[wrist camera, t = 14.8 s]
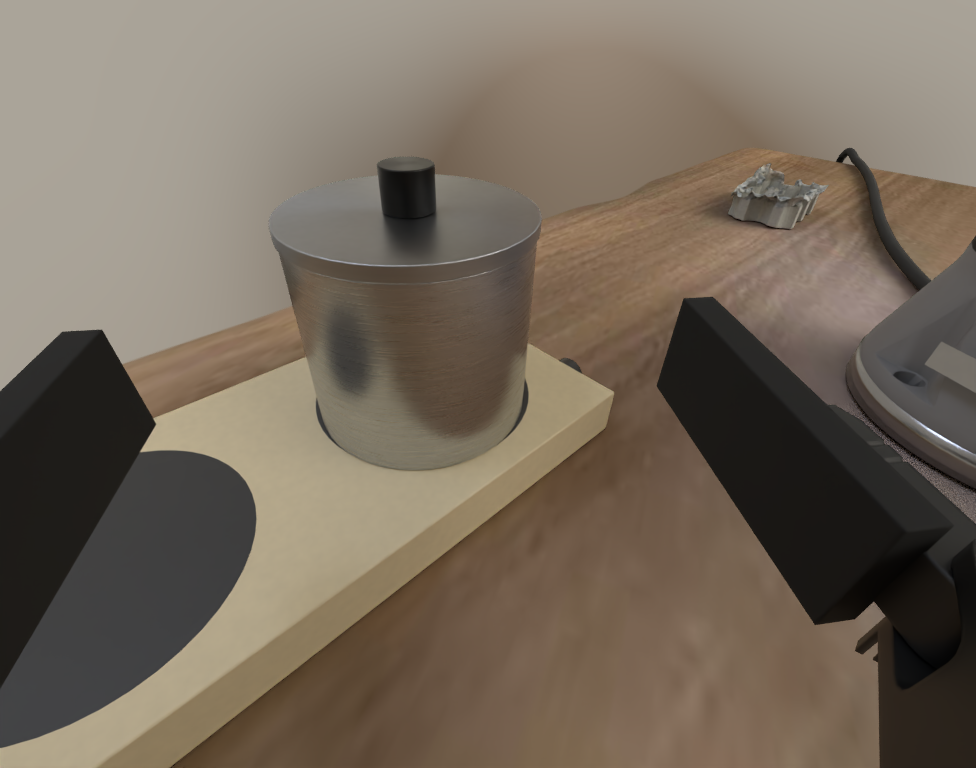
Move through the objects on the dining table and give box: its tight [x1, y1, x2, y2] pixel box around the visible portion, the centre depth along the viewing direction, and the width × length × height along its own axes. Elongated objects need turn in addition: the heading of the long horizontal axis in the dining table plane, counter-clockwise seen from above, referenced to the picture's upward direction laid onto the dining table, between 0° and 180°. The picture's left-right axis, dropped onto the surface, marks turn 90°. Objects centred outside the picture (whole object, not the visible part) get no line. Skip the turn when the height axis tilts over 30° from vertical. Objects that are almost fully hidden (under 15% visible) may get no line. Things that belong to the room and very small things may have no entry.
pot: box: [269, 157, 542, 470], centre depth 20 cm, size 10×10×11 cm
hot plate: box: [0, 343, 614, 768], centre depth 21 cm, size 29×13×2 cm, turn 133°
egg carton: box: [728, 163, 828, 229], centre depth 52 cm, size 11×8×4 cm
